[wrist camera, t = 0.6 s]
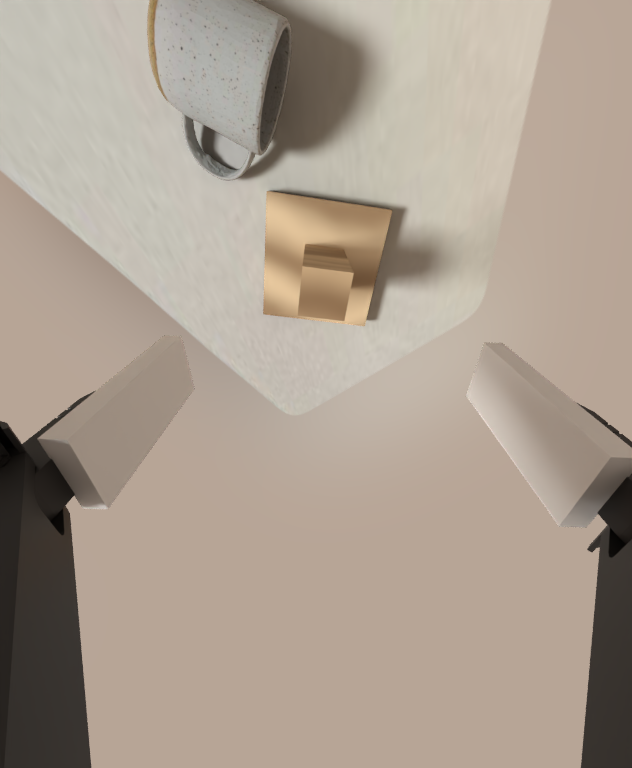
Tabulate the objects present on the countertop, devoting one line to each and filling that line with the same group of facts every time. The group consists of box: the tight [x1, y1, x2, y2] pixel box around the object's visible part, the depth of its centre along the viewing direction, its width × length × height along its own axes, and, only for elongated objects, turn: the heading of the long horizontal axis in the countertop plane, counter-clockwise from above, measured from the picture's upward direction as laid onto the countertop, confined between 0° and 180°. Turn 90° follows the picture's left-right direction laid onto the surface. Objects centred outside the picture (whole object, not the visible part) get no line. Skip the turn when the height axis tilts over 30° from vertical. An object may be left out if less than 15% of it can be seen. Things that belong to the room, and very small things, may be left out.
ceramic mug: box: [147, 0, 292, 181], centre depth 22 cm, size 11×8×8 cm
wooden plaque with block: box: [263, 191, 392, 326], centre depth 28 cm, size 12×12×10 cm
